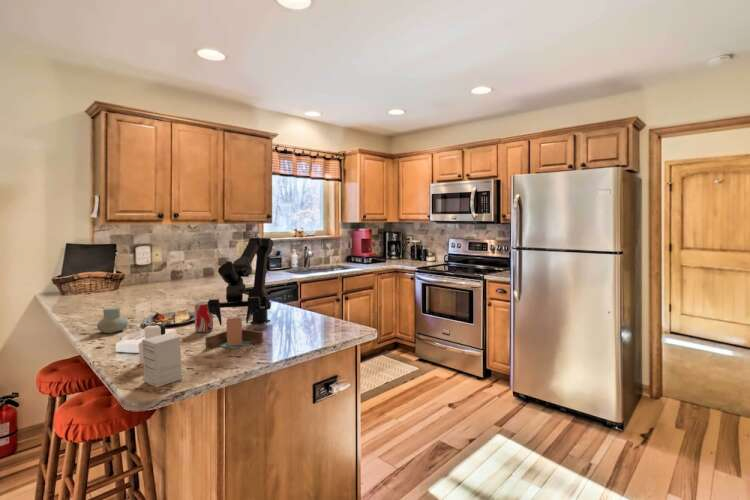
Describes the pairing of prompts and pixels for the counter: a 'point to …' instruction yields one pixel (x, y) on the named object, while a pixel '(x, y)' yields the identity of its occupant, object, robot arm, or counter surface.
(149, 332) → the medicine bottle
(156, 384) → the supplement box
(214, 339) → the tray
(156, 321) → the food plate
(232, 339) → the rust block
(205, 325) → the soda can
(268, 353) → the counter surface
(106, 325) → the air freshener
